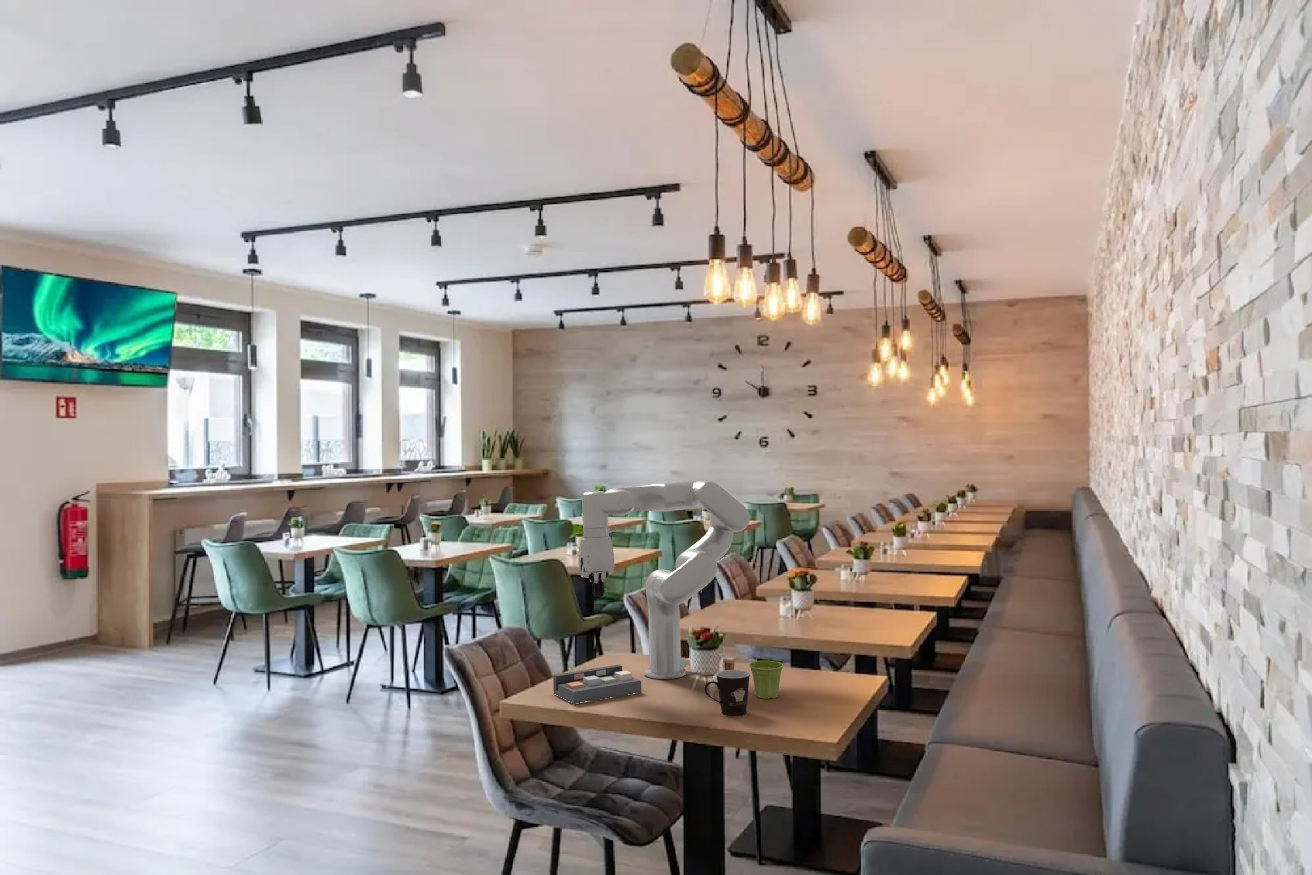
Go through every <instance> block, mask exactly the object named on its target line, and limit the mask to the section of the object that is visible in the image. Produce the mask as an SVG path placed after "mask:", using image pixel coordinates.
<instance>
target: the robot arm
mask: <svg viewBox="0 0 1312 875" xmlns="http://www.w3.org/2000/svg"><path fill="white" fill-rule="evenodd" d="M693 509H703V510H704V509H705V510H706V511H708V513H710V514H709V527H708V531H706V534H704V536H702V537H701V538H700V539H699V540H698V541H696V542H695V543H693V545H691V546H690V547H689V548H687V549H686V550H684V551H683V552H682V553H680V554H679V555H678V556H677V558H676V560H675V564H674V565H675V569H674V571H672V570H669V569H664V568H663V569H662V568H660V569H657V570H654V571H652V572H651V573H650V574H649V575H648V576H647V579H646V584H645V593H646V600H647V609H648V612H647V613H648V644H649V645H648V647H649V648H648V650H649V656H648V657H649V668H646V669H645V670H644V675H645V677H647V678H650V679H657V680H669V679H671V680H672V679H679V678H682V677H684V675H685V676H686V674H687V669H686V667H687V666H691V665H690V659H691V658H683V657H682V654H681V653H682V652H681V651H682V647H681V611H680V605H682V604H684V603H686V602H687V601H688V600H690V599H691V598H692V597H694V596H695V595H697V594H698V593H699V592H700V591H701V590H703V588H705V587H706V586H707V585H709V584H710V583H711V582H712V581H713V580H714V578H715V576H716V575H717V572H718V563H717V562H718V561H719V560H720V559H722V558H723V557H724V556H725V555H726V554H727V553H728V551H729V550H730V548H731V545H732V542H733V538H734V537H733V536H734V533H739V532H742V531H744V530H746V528H747V527H748V525H749V524H750V520H751V518H750V517H751V516H750V513H749V511H748V509H747V508H746V506H745V505H743V504H742V503H741V502H740V501H739V500H738V499H737V498H735V497H734V496H732V494H730V493H729V492H728V490H725V489H724V488H723V487H722V486H720V485H719V484H718V483H717V482H714V481H710V480H701V479H700V480H698V479H697V480H689V481H687V480H686V481H678V482H676V481H675V482H668V483H667V482H666V483H657V484H656V483H655V484H650V485H641V486H630V487H629V486H627V487H618V488H617V487H616V488H611V489H607V490H606V491H601V490H600V491H599V490H598V491H597V490H596V491H587V492H584V493H583V494H582V495H581V510H582V511H581V512H582V535H583V537H582V538H580V542H579V548H578V571H580V577H582V578H587V579H588V580H589V581H590V583H591V586H592V587H591V592H592V595H593V596H595V597H603V596H604V592H605V586H604V585H605V584H604V583H605V582H606V579H607V578H608V576H610V575H612V574H614V573H615V570H614V568H615V554H614V547H613V546H614V545H613V542H612V538H611V536H610V533H612V532H613V529H612V527H610V526H609V516H611V515H613V516H626V515H628V514H629V515H630V514H631V513H632V512H637V511H639V512H640V511H641V512H643V511H647V512H648V511H649V512H657V513H658V512H665V513H667V512H675V511H683V510H693Z"/></svg>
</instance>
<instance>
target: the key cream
mask: <svg viewBox="0 0 1312 875" xmlns="http://www.w3.org/2000/svg"><path fill="white" fill-rule="evenodd" d="M614 673H615V679H616V680H619V681H624V680H630V679H632V677H633V675H632V674H633V673H632V672H630V671H628V670H622V671H620V672H614Z"/></svg>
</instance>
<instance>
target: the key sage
mask: <svg viewBox="0 0 1312 875" xmlns="http://www.w3.org/2000/svg"><path fill="white" fill-rule="evenodd" d="M600 682H601V683H604V684H606V683H612V682H616V679H615V678H613V677H611V676H609V677H603V678H600Z"/></svg>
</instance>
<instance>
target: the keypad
mask: <svg viewBox="0 0 1312 875" xmlns="http://www.w3.org/2000/svg"><path fill="white" fill-rule="evenodd" d="M620 671H623V665H621V664H614V665H607V666H602V667H595V668H588V669H582V670H576V671H570V672H563V673H558V674H552V675H553V676H552V677H553V678H552V679H553V681H552V682H553V686H552V688H553V695H554V694H556V695H558V696H559V697H562V698H564V699H566V700H567V701H570V702H572V703H573V704H576V703H580V702H585V701H593V702H596V701H595V700H599V701H601V700H600V699H604V700H606V699H605V698H610V697H616V698H621V697H626V696H625V695H627V696H629V695H628V694H633V693H638V694H642V680H641V679H638V678H636V677H634V676H632V679H630V680H624V681H619V680H616V682H612V683H606V684H604V683H601V682H600V685H594V686H586V685H584V687H582V688H576V689H570V688H568V687H567V683H573V682H581V683H583V677H589V676H596V677H599V678H603V677H609V676H611V677H613V678H615V673H614V672H620ZM556 695H555V696H556ZM633 695H634V694H633ZM558 696H557V697H558ZM620 696H621V697H620ZM559 697H558V698H559ZM610 699H611V698H610ZM567 701H566V702H567ZM573 704H572V705H573ZM576 705H577V704H576Z"/></svg>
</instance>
